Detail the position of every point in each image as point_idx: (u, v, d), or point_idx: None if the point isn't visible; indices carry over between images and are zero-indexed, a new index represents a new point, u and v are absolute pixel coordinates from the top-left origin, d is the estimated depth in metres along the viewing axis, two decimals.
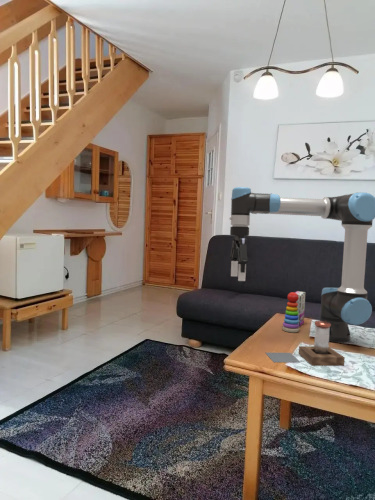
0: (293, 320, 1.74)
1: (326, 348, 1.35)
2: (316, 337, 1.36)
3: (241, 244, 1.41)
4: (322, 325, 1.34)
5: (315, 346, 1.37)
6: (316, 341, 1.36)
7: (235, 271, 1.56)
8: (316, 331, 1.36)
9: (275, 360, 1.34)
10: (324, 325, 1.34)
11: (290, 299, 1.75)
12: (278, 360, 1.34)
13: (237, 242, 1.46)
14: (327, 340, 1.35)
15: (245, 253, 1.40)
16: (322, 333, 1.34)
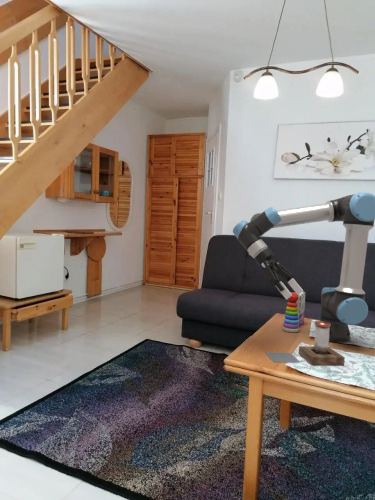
0: (293, 320, 1.74)
1: (326, 348, 1.35)
2: (316, 337, 1.36)
3: (263, 269, 1.42)
4: (322, 325, 1.34)
5: (315, 346, 1.37)
6: (316, 341, 1.36)
7: (297, 288, 1.48)
8: (316, 331, 1.36)
9: (275, 360, 1.34)
10: (324, 325, 1.34)
11: (290, 299, 1.75)
12: (278, 360, 1.34)
13: None
14: (327, 340, 1.35)
15: (270, 274, 1.38)
16: (322, 333, 1.34)
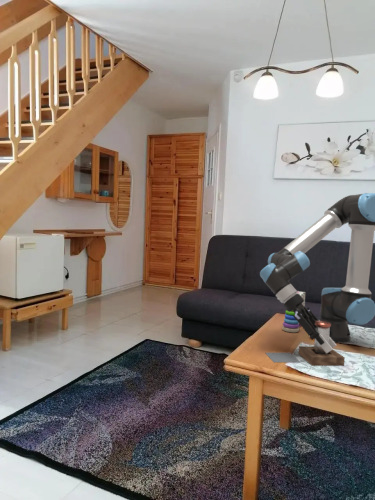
0: (293, 320, 1.74)
1: None
2: None
3: (298, 320, 1.36)
4: (322, 326, 1.34)
5: (315, 346, 1.37)
6: (316, 341, 1.36)
7: (330, 342, 1.38)
8: None
9: (275, 360, 1.34)
10: (324, 325, 1.34)
11: None
12: (278, 360, 1.34)
13: None
14: (327, 340, 1.35)
15: (308, 327, 1.34)
16: (322, 333, 1.34)
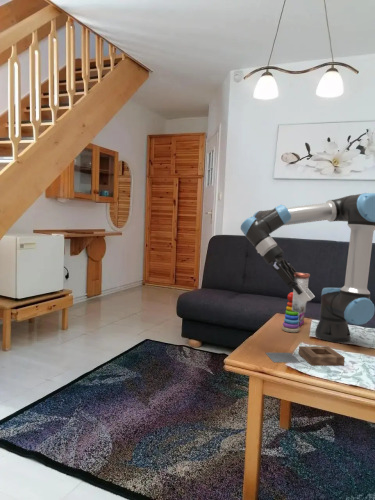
0: (293, 320, 1.74)
1: None
2: None
3: (277, 270, 1.35)
4: (300, 275, 1.33)
5: (293, 297, 1.36)
6: (295, 292, 1.35)
7: (308, 293, 1.37)
8: None
9: (275, 360, 1.34)
10: (303, 275, 1.33)
11: (290, 299, 1.75)
12: (278, 360, 1.34)
13: None
14: (305, 290, 1.34)
15: (286, 276, 1.33)
16: (301, 283, 1.33)
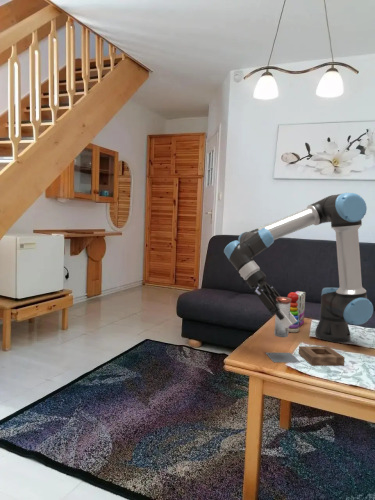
0: None
1: None
2: None
3: (259, 296, 1.36)
4: (282, 301, 1.34)
5: (276, 322, 1.37)
6: None
7: (291, 318, 1.38)
8: None
9: (275, 360, 1.34)
10: (284, 300, 1.34)
11: None
12: (278, 360, 1.34)
13: None
14: (287, 315, 1.35)
15: (268, 302, 1.34)
16: (282, 308, 1.34)
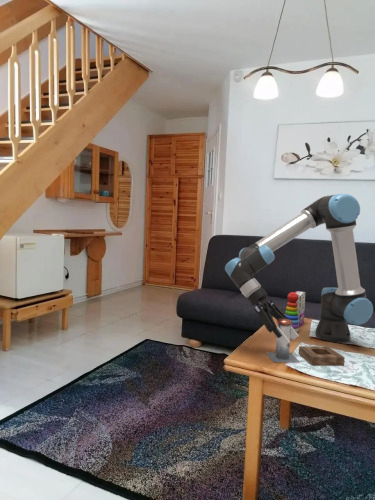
0: (293, 320, 1.74)
1: (287, 346, 1.36)
2: None
3: (258, 313, 1.36)
4: (283, 323, 1.35)
5: (277, 344, 1.37)
6: (277, 339, 1.37)
7: (292, 333, 1.40)
8: None
9: (275, 360, 1.34)
10: (285, 323, 1.35)
11: (290, 299, 1.75)
12: (278, 360, 1.34)
13: None
14: (288, 338, 1.36)
15: (266, 319, 1.33)
16: (283, 331, 1.35)
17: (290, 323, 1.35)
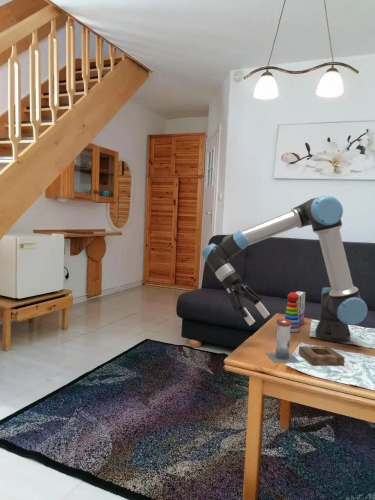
0: (293, 320, 1.74)
1: (287, 346, 1.35)
2: (277, 335, 1.37)
3: (228, 294, 1.43)
4: (282, 323, 1.35)
5: (276, 344, 1.37)
6: (277, 339, 1.37)
7: (264, 311, 1.49)
8: (277, 329, 1.37)
9: (275, 360, 1.34)
10: (285, 323, 1.34)
11: (290, 299, 1.75)
12: (278, 360, 1.34)
13: None
14: (288, 338, 1.35)
15: (234, 300, 1.40)
16: (283, 331, 1.35)
17: (290, 323, 1.35)
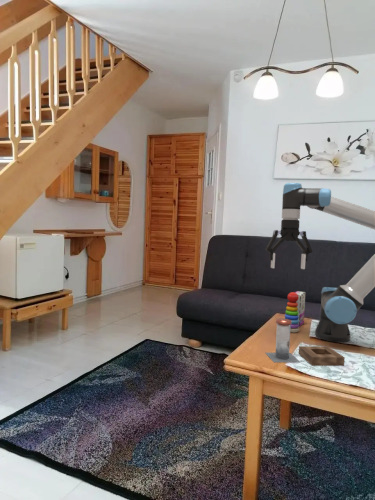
0: (293, 320, 1.74)
1: (287, 346, 1.36)
2: (277, 335, 1.37)
3: (273, 235, 1.59)
4: (282, 323, 1.35)
5: (276, 344, 1.37)
6: (277, 339, 1.37)
7: (302, 264, 1.60)
8: (277, 329, 1.37)
9: (275, 360, 1.34)
10: (284, 323, 1.35)
11: (290, 299, 1.75)
12: (278, 360, 1.34)
13: None
14: (288, 338, 1.36)
15: (270, 242, 1.58)
16: (283, 331, 1.35)
17: (289, 323, 1.35)
